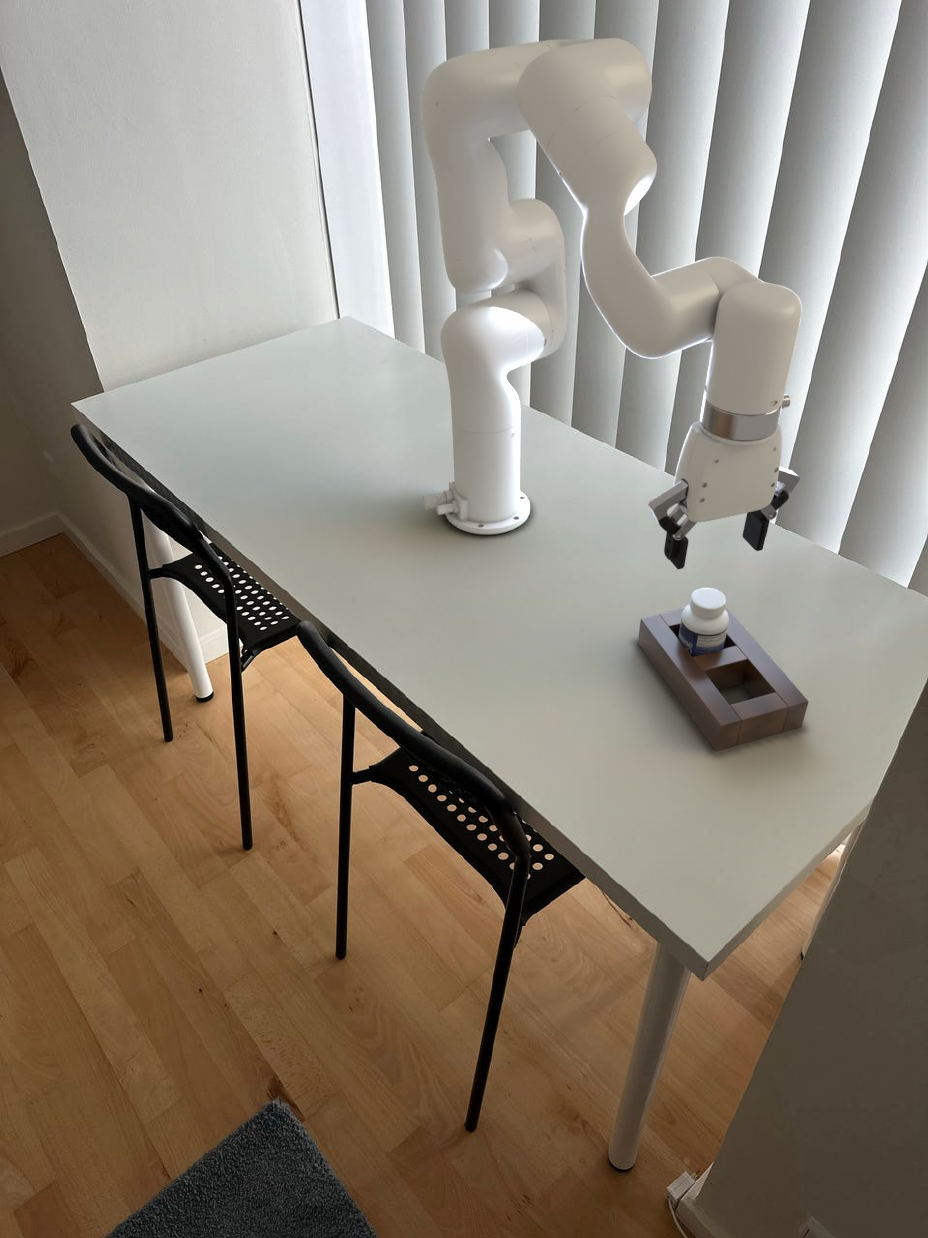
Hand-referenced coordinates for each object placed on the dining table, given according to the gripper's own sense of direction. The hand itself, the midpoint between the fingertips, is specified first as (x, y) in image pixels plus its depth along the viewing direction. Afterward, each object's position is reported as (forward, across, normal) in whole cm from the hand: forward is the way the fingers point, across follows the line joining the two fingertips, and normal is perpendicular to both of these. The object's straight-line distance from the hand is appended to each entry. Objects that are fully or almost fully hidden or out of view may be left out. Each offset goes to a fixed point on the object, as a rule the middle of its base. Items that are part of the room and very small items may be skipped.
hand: (713, 552), depth 105 cm
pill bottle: (+16, 0, +1) cm, 16 cm away
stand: (+16, 0, +5) cm, 17 cm away
